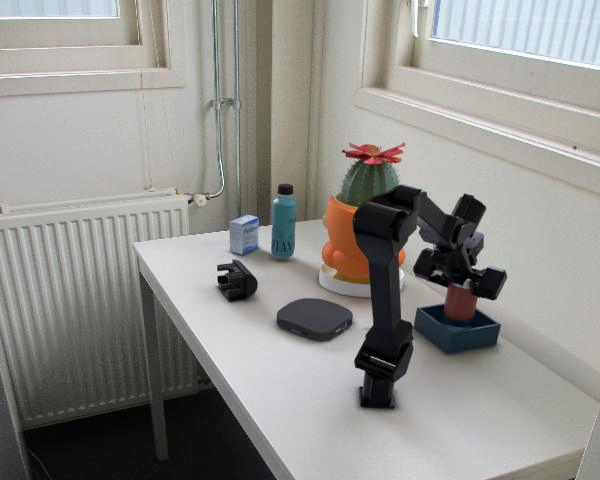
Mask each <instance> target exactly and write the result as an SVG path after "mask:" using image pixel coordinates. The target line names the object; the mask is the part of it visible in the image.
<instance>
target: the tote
mask: <svg viewBox="0 0 600 480" xmlns="http://www.w3.org/2000/svg"><path fill="white" fill-rule="evenodd" d="M444 304H445V302H442V303H438V304H432V305H425V306H420V307H419V306H418V307H416V311H415V317H414V322H413V329H415V330H416V331H417V332H418V333H420V334H421V335H422V336H424V337H425V338H426V339H427V340H428V341H430V343H432V344H433V345H435V346H436V347H437V348H438V349H439V350H441V351H442V352H443V353H445V354H446V355H452V354H458V353H463V352H467V351H472V350H477V349H480V348H486V347H491V346H496V345H497V344H498V339H499V335H500V332H501V327H502V324H501V323H500V322H498V321H496V320H495V319H494V318H492V317H491V316H489V315H488V314H486V313H485V312H483V311H482V310H480V309H479V308H478V307H476V309H475V313H474V317H473V321H472V324H471V325H470V326H468V327H454V326H451V325H448V324H446V323H445V322H444V321H443V320H442V316H443V310H444Z"/></svg>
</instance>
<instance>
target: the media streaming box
mask: <svg viewBox="0 0 600 480" xmlns="http://www.w3.org/2000/svg"><path fill="white" fill-rule="evenodd" d="M353 318H354V313H353V312H352V311H351V310H350V309H349V308H348V307H345V306H344V305H341V304H338V303H336V302H333V301H330V300H326V299H324V298H323V299H322V298H317V297H302V298H298V299H295V300H293V301H291V302H289V303H287V304H285V305H284V306H282V307H281V308H280V309H279V310H278V311H277V312H276V320H275V321H276V325H277V326H278V327H279V328H281V329H283V330H286V331H288V332H291V333H293V334H296V335H300V336H302V337H304V338H308V339H311V340H316V341H327V340H330V339H333V338H334V337H336V336H337V335H339V334H340V333H342V332H344V331H345V330H347V329H348V328H349V327H350V326H352V325H353Z"/></svg>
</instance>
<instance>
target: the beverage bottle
mask: <svg viewBox="0 0 600 480" xmlns="http://www.w3.org/2000/svg"><path fill="white" fill-rule="evenodd" d="M277 194H278V195H280V196H277V197H276V198H275V199H274V200H272V228H271V242H270V243H271V244H270V245H271V247H270V252H271V255H272V256H274V257H277V258H290V257H292V256H294V254H295V246H296V223H297V221H296V220H297V204H298V203H297V200H295V199H294V197H292V195H294V185H293V184H290V183H279V184H278V186H277Z"/></svg>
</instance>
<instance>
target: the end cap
mask: <svg viewBox="0 0 600 480" xmlns="http://www.w3.org/2000/svg"><path fill="white" fill-rule="evenodd" d="M216 271H217V272H224V271H227V272H225V273H224V274H220V275H216V281H217V288H218V290H219V291H220V292H221V294H222V295H223V297H224V298H225V299H226V300H227V301H228V302H229V303H234V302H241V301H246V300H249V298H251V297H252V296H253V295H255V293H257V290H258V287H259V281H258V279H257V277H255V276H254V274H253V273H252V272H251V271H250V270H249V269H248V267H246V266H245V265H244V264H243V262H242V261H240V260H238V259H235V258H232V260H231V262H229V263H221V264H217V265H216Z"/></svg>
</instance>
